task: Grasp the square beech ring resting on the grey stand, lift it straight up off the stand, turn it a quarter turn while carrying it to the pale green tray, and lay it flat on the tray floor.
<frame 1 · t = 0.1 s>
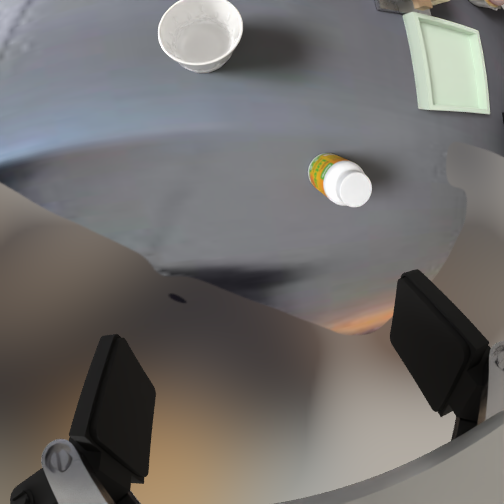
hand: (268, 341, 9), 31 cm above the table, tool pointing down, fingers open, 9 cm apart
white cup: (203, 49, 30), on the table
tray: (447, 65, 32), on the table
supplement bottle: (325, 171, 39), on the table
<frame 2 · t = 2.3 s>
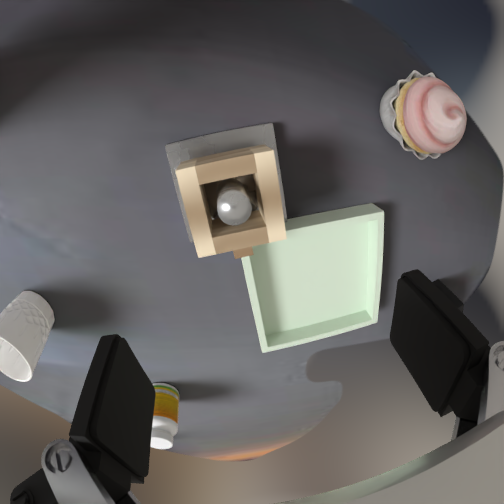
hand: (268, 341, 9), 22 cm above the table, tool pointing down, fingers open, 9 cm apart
white cup: (36, 309, 32), on the table
tray: (313, 276, 35), on the table
digital camera: (424, 309, 41), on the table
supplement bottle: (162, 390, 42), on the table
cupcake: (400, 111, 27), on the table
grey stand: (228, 181, 29), on the table
ring: (230, 191, 25), point 4 cm above the table, touching grey stand
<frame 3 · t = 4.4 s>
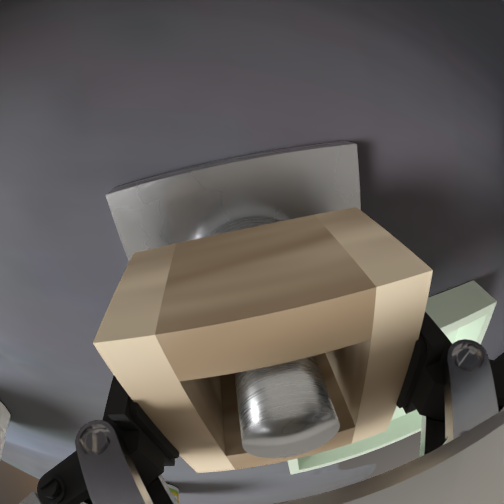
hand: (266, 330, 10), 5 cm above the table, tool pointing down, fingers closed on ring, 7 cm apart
tray: (373, 385, 20), on the table
supplement bottle: (158, 485, 27), on the table
grey stand: (250, 264, 14), on the table
ring: (263, 319, 10), point 4 cm above the table, touching gripper, grey stand
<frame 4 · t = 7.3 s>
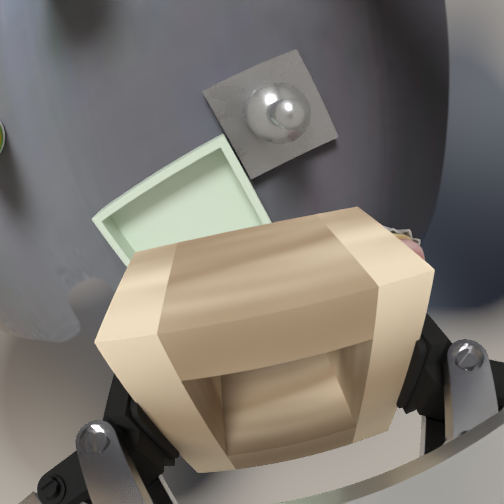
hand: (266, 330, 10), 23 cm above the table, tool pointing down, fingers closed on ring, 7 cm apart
tray: (195, 232, 32), on the table
cupcake: (372, 245, 36), on the table
grey stand: (271, 112, 27), on the table
ring: (264, 319, 10), point 22 cm above the table, touching gripper
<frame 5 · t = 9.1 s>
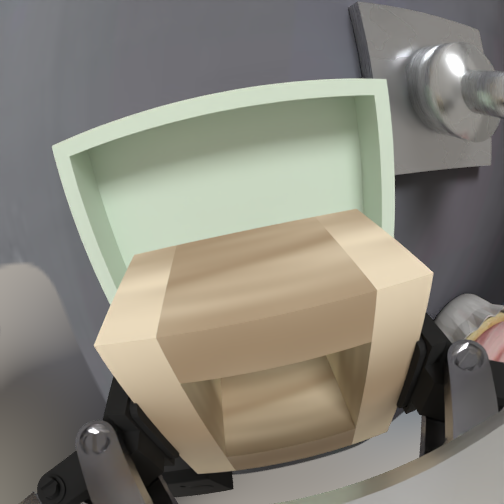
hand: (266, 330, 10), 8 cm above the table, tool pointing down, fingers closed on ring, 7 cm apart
tray: (244, 237, 17), on the table
digital camera: (171, 429, 26), on the table
cupcake: (452, 317, 23), on the table
grey stand: (430, 89, 14), on the table
ring: (263, 321, 10), point 7 cm above the table, touching gripper
when the fingers open (2 cm above the table, at t = 10.6 s): ring drops 1 cm, resting on tray.
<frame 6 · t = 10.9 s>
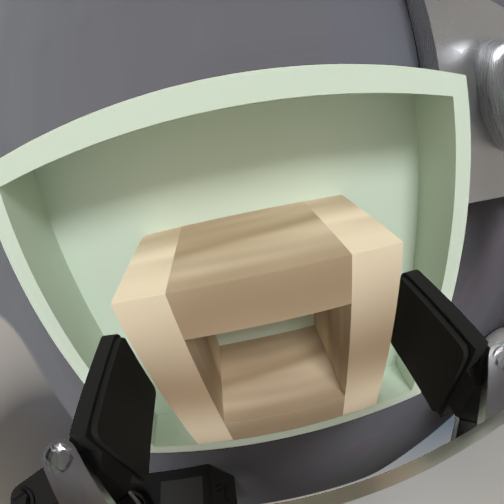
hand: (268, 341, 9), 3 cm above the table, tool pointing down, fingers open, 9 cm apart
tray: (256, 289, 12), on the table
digital camera: (172, 474, 21), on the table
grey stand: (492, 93, 9), on the table
ring: (259, 297, 11), point 1 cm above the table, touching tray
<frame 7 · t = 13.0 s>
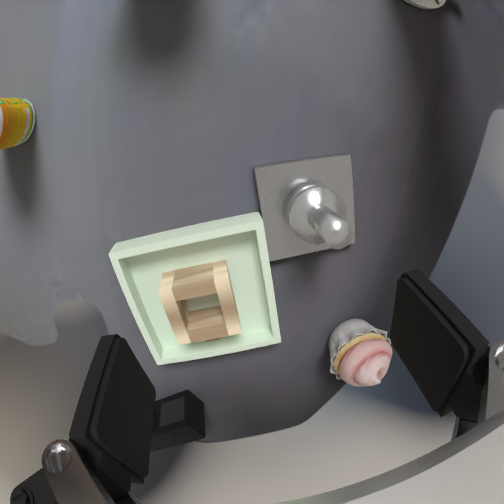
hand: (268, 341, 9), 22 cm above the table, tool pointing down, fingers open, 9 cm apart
tray: (201, 290, 33), on the table
digital camera: (168, 402, 42), on the table
supplement bottle: (19, 121, 22), on the table
cupcake: (348, 333, 40), on the table
grey stand: (306, 205, 31), on the table
ring: (201, 293, 33), point 1 cm above the table, touching tray
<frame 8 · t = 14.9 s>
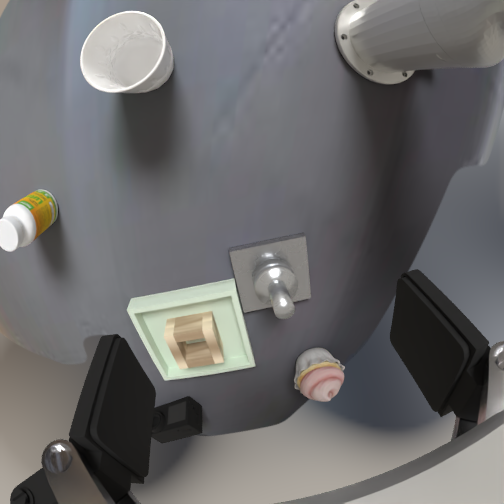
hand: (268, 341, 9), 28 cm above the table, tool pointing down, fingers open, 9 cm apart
white cup: (146, 66, 28), on the table
tray: (195, 329, 44), on the table
digital camera: (174, 405, 54), on the table
supplement bottle: (44, 207, 33), on the table
cupcake: (312, 357, 51), on the table
grey stand: (271, 272, 41), on the table
ring: (195, 332, 44), point 1 cm above the table, touching tray
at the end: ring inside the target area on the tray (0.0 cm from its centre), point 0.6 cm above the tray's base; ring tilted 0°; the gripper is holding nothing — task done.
